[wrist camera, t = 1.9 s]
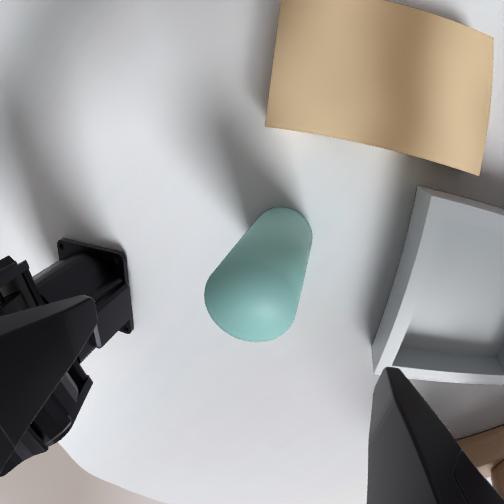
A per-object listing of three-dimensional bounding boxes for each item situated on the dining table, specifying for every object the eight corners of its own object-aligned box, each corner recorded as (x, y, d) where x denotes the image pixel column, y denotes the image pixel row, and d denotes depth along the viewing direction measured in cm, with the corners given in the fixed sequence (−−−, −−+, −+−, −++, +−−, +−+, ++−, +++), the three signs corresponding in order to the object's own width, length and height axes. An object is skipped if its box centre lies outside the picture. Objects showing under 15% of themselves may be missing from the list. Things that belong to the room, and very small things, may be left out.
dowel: (250, 258, 18) (203, 330, 12) (255, 202, 17) (205, 252, 10) (307, 269, 17) (288, 349, 11) (316, 212, 16) (303, 270, 10)
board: (274, 127, 15) (264, 126, 13) (290, 4, 13) (283, -14, 10) (460, 169, 14) (479, 176, 11) (474, 47, 11) (493, 37, 9)
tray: (371, 347, 18) (373, 374, 16) (417, 185, 14) (431, 195, 12) (496, 361, 16) (507, 384, 14) (552, 226, 12) (574, 240, 10)
